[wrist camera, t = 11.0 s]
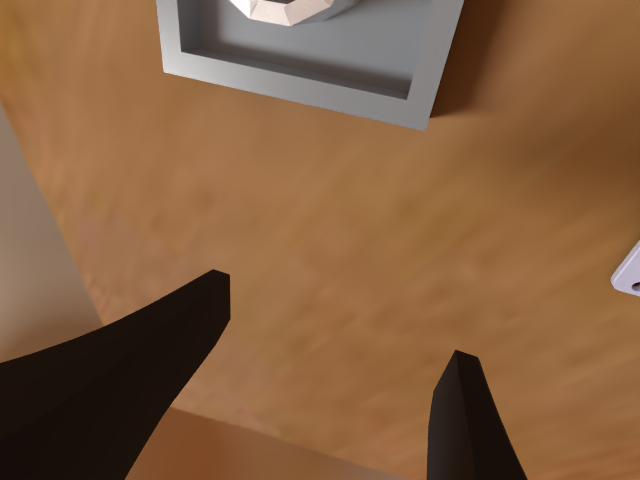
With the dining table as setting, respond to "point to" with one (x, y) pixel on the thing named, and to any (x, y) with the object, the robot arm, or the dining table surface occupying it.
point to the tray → (319, 54)
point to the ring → (293, 10)
